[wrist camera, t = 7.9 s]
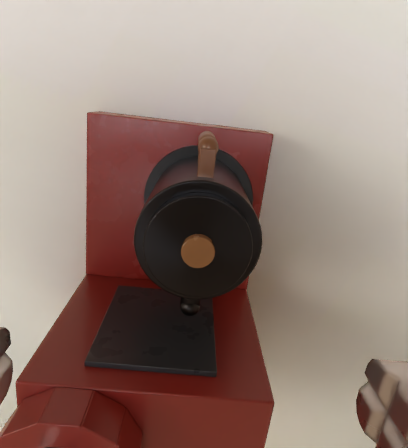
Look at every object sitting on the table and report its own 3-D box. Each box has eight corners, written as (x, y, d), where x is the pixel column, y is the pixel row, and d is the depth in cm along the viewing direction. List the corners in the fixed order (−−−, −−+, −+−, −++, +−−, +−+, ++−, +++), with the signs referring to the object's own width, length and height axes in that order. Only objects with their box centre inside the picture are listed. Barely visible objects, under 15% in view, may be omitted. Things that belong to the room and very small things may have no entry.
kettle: (254, 133, 21) (286, 150, 13) (233, 268, 23) (249, 346, 16) (158, 122, 20) (134, 133, 13) (149, 259, 23) (124, 335, 16)
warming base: (266, 131, 23) (319, 153, 13) (242, 273, 27) (270, 382, 16) (98, 111, 23) (13, 118, 12) (96, 259, 26) (27, 361, 16)
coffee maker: (242, 273, 27) (284, 440, 13) (231, 339, 29) (259, 543, 15) (89, 258, 26) (-23, 417, 13) (89, 326, 28) (-10, 526, 15)
